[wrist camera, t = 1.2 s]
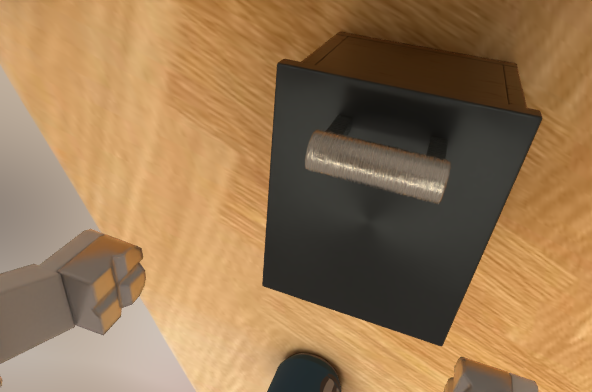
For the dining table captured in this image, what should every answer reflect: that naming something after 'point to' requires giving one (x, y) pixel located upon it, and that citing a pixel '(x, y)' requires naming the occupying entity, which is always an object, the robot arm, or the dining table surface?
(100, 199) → the dining table surface
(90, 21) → the dining table surface
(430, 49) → the bin
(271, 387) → the soda can
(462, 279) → the bin lid
